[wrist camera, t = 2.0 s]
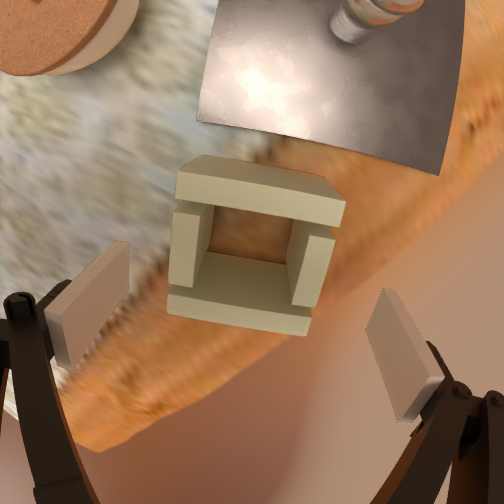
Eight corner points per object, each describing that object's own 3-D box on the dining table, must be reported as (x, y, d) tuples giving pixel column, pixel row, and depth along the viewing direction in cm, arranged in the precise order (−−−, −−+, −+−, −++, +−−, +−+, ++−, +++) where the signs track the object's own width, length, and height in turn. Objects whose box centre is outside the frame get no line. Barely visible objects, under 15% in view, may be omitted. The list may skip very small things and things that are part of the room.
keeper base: (200, 120, 22) (146, 127, 12) (243, -80, 14) (231, -164, 4) (429, 172, 22) (518, 216, 12) (456, -17, 15) (535, -54, 5)
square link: (188, 264, 26) (166, 313, 20) (202, 154, 23) (177, 171, 16) (297, 283, 27) (305, 336, 20) (323, 176, 23) (346, 201, 17)
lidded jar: (53, -17, 16) (-13, -44, 8) (166, -46, 16) (123, -104, 7) (41, 90, 20) (-38, 93, 12) (154, 72, 20) (93, 52, 12)
